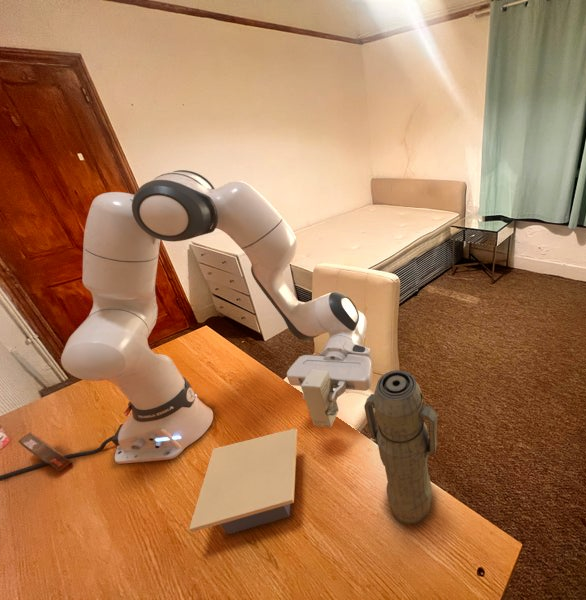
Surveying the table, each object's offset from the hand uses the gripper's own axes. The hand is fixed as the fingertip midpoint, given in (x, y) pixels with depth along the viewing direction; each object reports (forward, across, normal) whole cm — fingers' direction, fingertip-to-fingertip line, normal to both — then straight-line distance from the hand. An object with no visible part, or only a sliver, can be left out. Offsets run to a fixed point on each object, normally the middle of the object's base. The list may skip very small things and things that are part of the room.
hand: (318, 399), depth 67 cm
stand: (+13, -12, +18) cm, 25 cm away
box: (-1, 0, +7) cm, 7 cm away
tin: (+11, -72, +18) cm, 75 cm away
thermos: (+10, +20, +18) cm, 29 cm away
